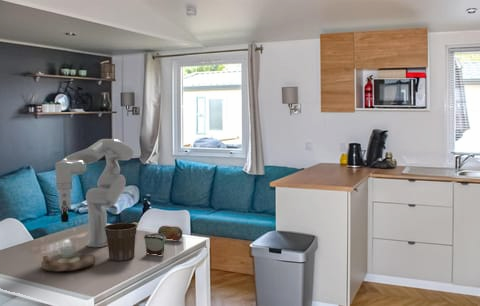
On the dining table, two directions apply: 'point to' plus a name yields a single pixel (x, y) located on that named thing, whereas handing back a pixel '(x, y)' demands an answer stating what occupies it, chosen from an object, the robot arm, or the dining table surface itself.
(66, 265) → the disc
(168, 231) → the tin
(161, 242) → the food container
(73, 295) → the dining table surface
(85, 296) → the dining table surface
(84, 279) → the dining table surface
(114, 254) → the plant pot
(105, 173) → the robot arm
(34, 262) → the dining table surface
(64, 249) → the sage green rounded cylinder
